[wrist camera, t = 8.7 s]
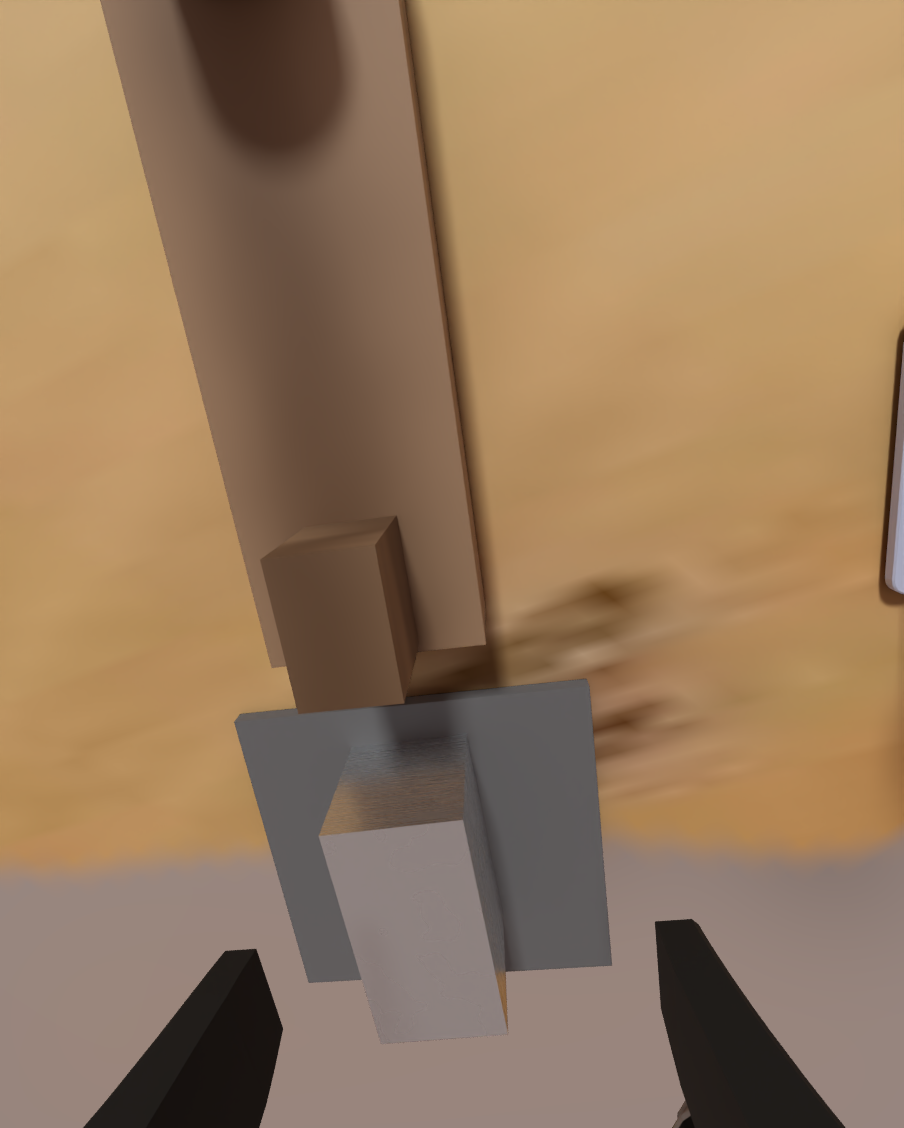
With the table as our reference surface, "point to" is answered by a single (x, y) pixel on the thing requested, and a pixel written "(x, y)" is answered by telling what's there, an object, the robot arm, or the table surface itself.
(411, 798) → the lever cap
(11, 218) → the table surface
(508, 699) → the mat
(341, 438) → the plane body
